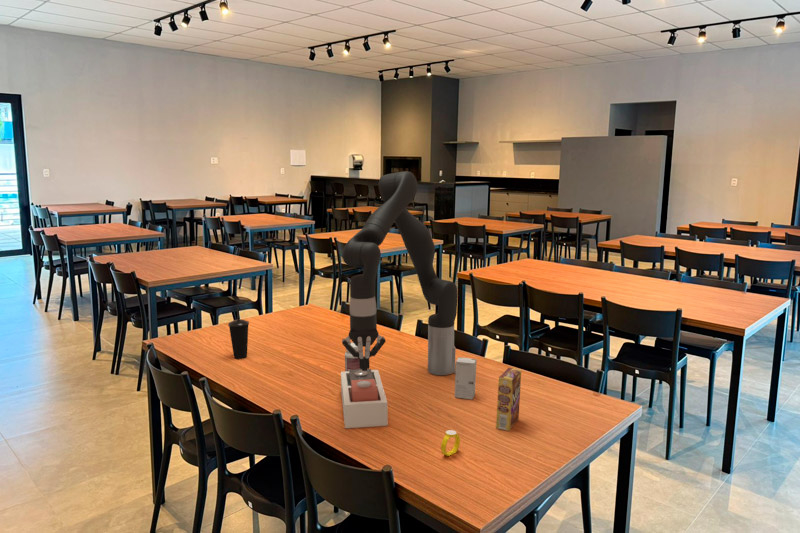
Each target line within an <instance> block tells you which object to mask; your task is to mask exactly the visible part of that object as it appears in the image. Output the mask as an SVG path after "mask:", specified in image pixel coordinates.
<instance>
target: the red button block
mask: <svg viewBox="0 0 800 533" xmlns="http://www.w3.org/2000/svg"><path fill="white" fill-rule="evenodd" d="M363 401H378V390H377V386H376V383H375V379H366V380H351V402H363Z"/></svg>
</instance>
